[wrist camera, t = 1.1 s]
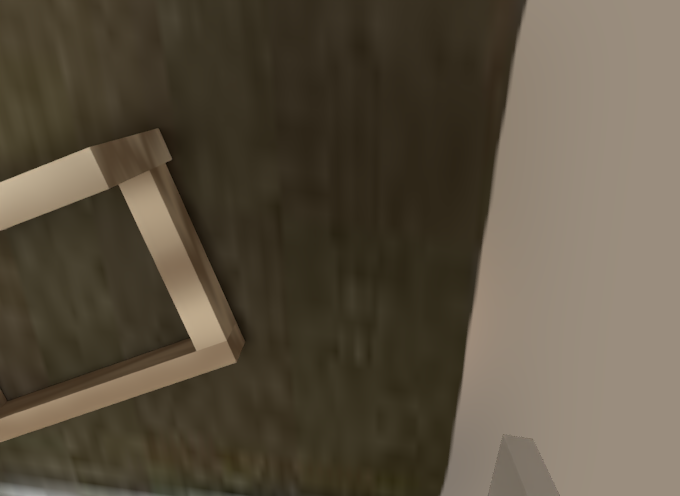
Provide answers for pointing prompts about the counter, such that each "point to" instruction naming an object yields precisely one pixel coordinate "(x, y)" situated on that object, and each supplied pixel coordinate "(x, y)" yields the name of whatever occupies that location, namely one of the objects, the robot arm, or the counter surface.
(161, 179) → the board
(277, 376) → the counter surface
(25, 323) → the counter surface
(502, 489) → the robot arm
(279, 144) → the counter surface
